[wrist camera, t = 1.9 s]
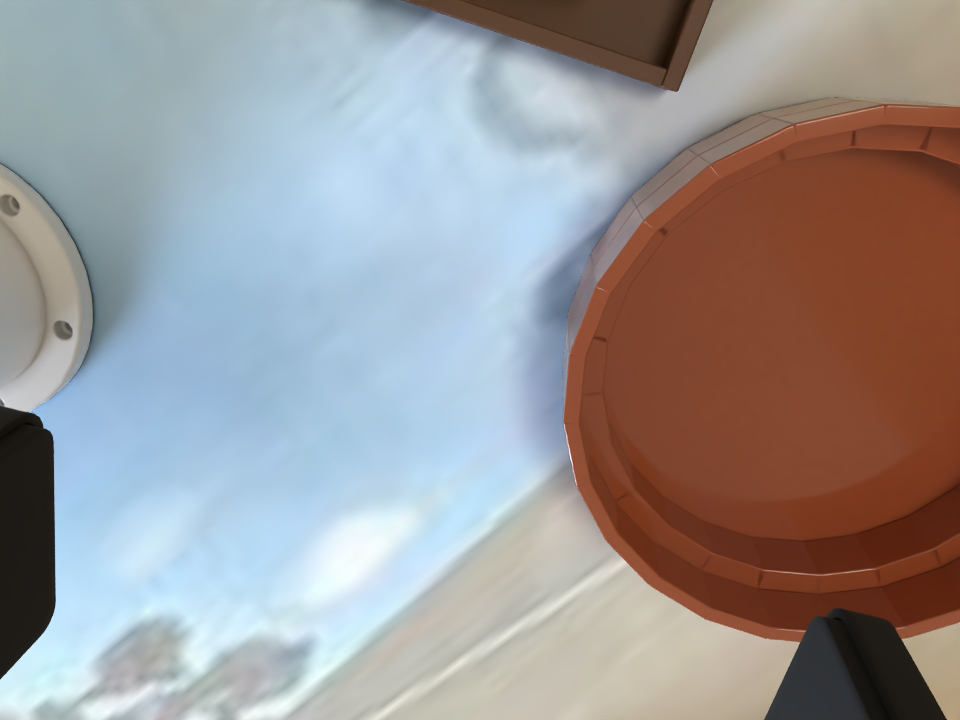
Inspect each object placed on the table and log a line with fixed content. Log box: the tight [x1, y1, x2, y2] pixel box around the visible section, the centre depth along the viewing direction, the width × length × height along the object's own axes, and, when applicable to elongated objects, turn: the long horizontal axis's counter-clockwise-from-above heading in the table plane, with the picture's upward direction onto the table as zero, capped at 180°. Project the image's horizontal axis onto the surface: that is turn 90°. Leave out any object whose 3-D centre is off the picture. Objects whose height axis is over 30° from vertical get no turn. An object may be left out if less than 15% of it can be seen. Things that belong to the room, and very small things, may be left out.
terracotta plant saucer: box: [563, 97, 960, 642], centre depth 29 cm, size 20×20×6 cm
